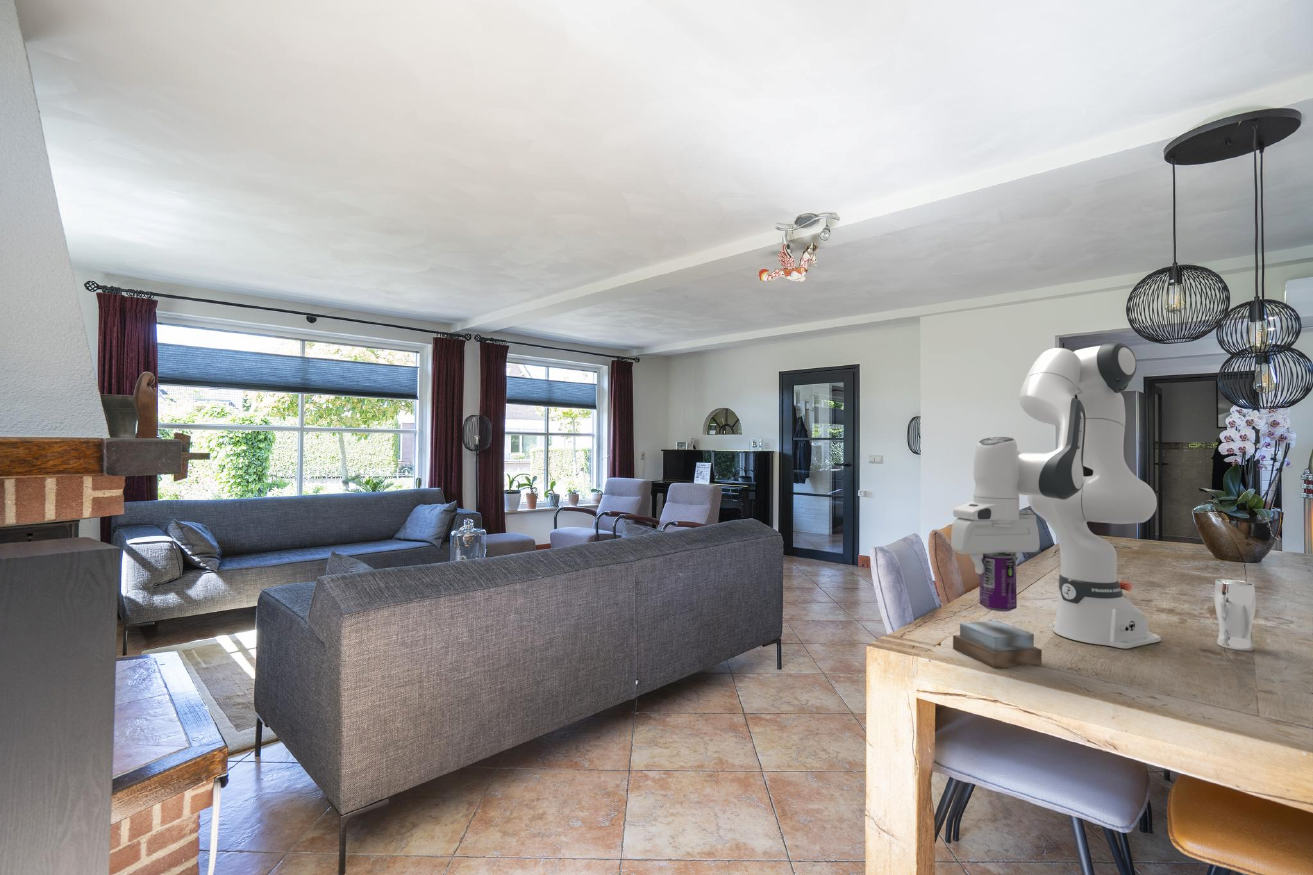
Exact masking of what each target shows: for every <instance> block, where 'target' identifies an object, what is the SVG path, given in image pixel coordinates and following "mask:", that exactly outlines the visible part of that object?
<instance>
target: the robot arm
mask: <svg viewBox="0 0 1313 875" xmlns="http://www.w3.org/2000/svg"><path fill="white" fill-rule="evenodd" d="M1136 371H1137V359H1136V356H1135V353H1134V352H1133V350H1132V349H1131V348H1130V347H1129V346H1128V345H1126V344H1125V343H1122V342H1109V343H1107V342H1106V343H1103V344H1102V345H1095V346H1091V347H1084V348H1080V349H1076V350H1074V351H1072V350H1071V349H1067V348H1063V347H1054V348H1048V349H1047V350H1045V351H1043V352H1041V354H1040V355H1039V356H1038V357H1037V359H1036V360H1035V361H1034V363H1033V364H1032V366H1031V367H1030V369H1029V371H1028V373H1027V374H1026V375H1025V376H1026V377H1025V379H1024V381H1023V384H1022V386H1021V388H1020V392H1019V397H1018V398H1019V399H1018V400H1019V404H1020V406H1021V408H1022V410H1023V411H1024V413H1026V414H1027V415H1028V416H1029V417H1030V418H1032V419H1034V420H1036V421H1037V422H1041V423H1045V424H1047V425H1051V426H1055V427H1058V428H1059V434H1058V442H1057V448H1056V449H1055V450H1052V451H1048V452H1021V451H1020V450H1019V449H1018V445H1017V444H1018V443H1017V441H1016V439H1015V438H1013V437H1009V436H1008V437H1007V436H994V437H987V438H982V439H981V440H979V441H977V444H976V446H975V447H976V448H975V452H974V458H973V479H974V482H975V486H974V487H975V488H974V492H973V500H971V501H968V502H966V503H964V504H961V505H958V506H955V507H953V509H952V510H953V511H952V513H953V514H952V515H953V516H954V518H955V519H954V520H953V522H952V525H951V532H950V534H951V535H950V537H951V538H950V539H951V540H950V541H951V542H950V543H951V544H950V545H951V548H952V550H953V551H954V553H959V554H963V555H969V556H970V559H971V561H972V562H973V564H974V572H975V573H976V574H977V575H979V574H986V572H987V571H986V570H987V566H984V565H983V563H982V561H981V559H980V558H983V553H1008V554H1012V555H1014V557H1013V559H1014V561H1015V563H1016V571H1017V570H1018V569H1017V565H1018V564H1019V562H1020V561H1021V559H1022V553H1036V552H1038V550H1039V549H1040V547H1041V546H1040V541H1041V540H1040V533H1039V528H1038V524H1037V516H1036V515H1035V514H1037V515H1038V516H1039V517H1041V518H1042V519H1043V520H1044V521H1045V522H1046V523H1047V524H1048V525H1049V526H1050V528H1051V529H1052V531H1053V533H1054V535H1055V536H1056V539H1057V541H1058V546H1059V554H1060V556H1059V557H1060V574H1059V576H1058V580H1057V582H1058V589H1059V592H1060V593H1059V594H1058V596H1057V604H1056V612H1055V613H1056V614H1055V620H1053V621H1052V626H1053V628H1052V631H1053V632H1054V633H1056V635H1059V636H1062V637H1064V638H1067V639H1070V640H1074V641H1078V642H1082V643H1087V644H1092V645H1093V644H1094V645H1100V646H1101V645H1102V646H1108V647H1109V646H1110V647H1114V648H1119V649H1126V650H1127V649H1131V648H1136V647H1140V646H1144V645H1149V644H1154V643H1159V642H1161V636H1159V635H1157V634H1156V633H1153V632H1151V631H1148V621H1147V617H1146V615H1145V614H1144V612H1143V611H1142V610H1140V609H1139V608H1138V607H1137V606H1136V605H1134V604H1133V603H1132V602H1130V601H1129V600H1128V599H1126V597H1124V593H1123V590H1124V591H1126V592H1130V591H1131V590H1132V589H1133V586H1132V584H1131V582H1128V581H1127V582H1125V581H1123V580H1122V581H1119V580H1117V577H1118V573H1117V572H1118V568H1117V565H1118V563H1117V561H1118V560H1117V559H1118V558H1117V557H1118V555H1117V551H1116V549H1115V547H1114V546H1113V545H1112V544H1111V543H1110V542H1109V541H1108V540H1106V539H1105V538H1102V537H1101V536H1098V535H1096V534H1094V533H1093V532H1092V531H1091V530H1090V528H1089V527H1088V524H1087V523H1088V522H1092V523H1106V524H1114V525H1115V524H1117V525H1126V524H1127V525H1128V524H1140V523H1141V524H1142V523H1146V522H1147V521H1149V520H1150V519H1151V518H1152V517H1153V515H1154V513H1155V512H1156V509H1157V507H1158V506H1157V504H1158V501H1157V499H1158V498H1157V496H1156V493H1155V491H1154V489H1153V488H1152V487H1151V486H1150V485H1149V484H1147V483H1146V482H1145V481H1143V480H1141V478H1139V477H1137V476H1136V475H1135V474H1134V473H1133V472H1132V470H1130V468H1129V466H1128V464H1127V462H1126V460H1125V456H1124V451H1125V450H1124V444H1125V442H1124V440H1125V432H1126V405H1125V399H1124V396H1123V395H1122V392H1124V391H1126V389H1127V387H1128V386H1129V384H1130V382H1132V380H1133V378H1134V376H1135V374H1136ZM1076 396H1077V398H1076ZM1084 467H1086V468H1087V469H1090V470H1092V475H1089V476H1084ZM1020 495H1023V496H1027V501H1028V502H1027V503H1028V504H1029V507H1030V508H1031V509H1032V511H1033V512H1034V513H1033V512H1032V511H1031V510H1029V509H1020Z"/></svg>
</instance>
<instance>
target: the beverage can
mask: <svg viewBox="0 0 1313 875" xmlns="http://www.w3.org/2000/svg"><path fill="white" fill-rule="evenodd" d="M1013 557H1014V555H1012V554H1009V553H983V558H980V559H981V561H982V563H983V565H984V566H987V570H986V571H987V572H986V574H978V576H979V578H978V580H979V581H978V582H979V590H978V591H979V605H980V606H983V607H984V608H985V609H987V610H990V611H995V612H1004V613H1005V612H1011V611H1013V610H1015V609H1017V607H1018V603H1017V600H1018V599H1017V597H1018V596H1017V594H1018V593H1017V570H1016V563H1015V561H1014V559H1013Z"/></svg>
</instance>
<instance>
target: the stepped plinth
mask: <svg viewBox="0 0 1313 875" xmlns="http://www.w3.org/2000/svg"><path fill="white" fill-rule="evenodd" d="M1034 641H1035V634H1034V633H1031V632H1029V631H1026V630H1023V629H1021V628H1018V627H1015V626H1013V625H1009V624H1008V623H1005V622H1003V621H999V620H988V621H974V622H960V623H959V634H954V635H952V649H953V650H955V651H957V652H960V653H962V654H963V655H966V656H968V657H970V658H972V659H974V660H977V661H978V662H981V663H982V664H984V665H987V666H989V667H991V668H993V669H997V668H1008V667H1009V668H1010V667H1019V666H1020V667H1021V666H1031V665H1040V664H1041V665H1042V663H1043V661H1042V658H1043V657H1042V656H1043V652H1042V651H1043V650H1042V649H1041V648H1039V647H1036V646H1035V642H1034Z"/></svg>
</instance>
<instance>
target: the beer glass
mask: <svg viewBox="0 0 1313 875" xmlns="http://www.w3.org/2000/svg"><path fill="white" fill-rule="evenodd" d="M1213 592H1214V593H1213V602H1214V607H1215V608H1214V609H1215V614H1216V618H1217V622H1218V623H1217V624H1218V636H1217V640H1216V644H1217V645H1218V646H1220V647H1222V648H1225V649H1230V650H1236V651H1243V652H1251V651H1252V652H1253V650H1254V646H1253V643H1252V636H1251V634H1252V627H1253V622H1254V618H1255V613H1256V608H1257V607H1256V606H1257V604H1256V603H1257V598H1256V589H1255V584H1254V583H1252V582H1249V581H1245V580H1238V579H1230V578H1228V579H1227V578H1217V579H1215V580H1214V591H1213Z"/></svg>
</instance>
